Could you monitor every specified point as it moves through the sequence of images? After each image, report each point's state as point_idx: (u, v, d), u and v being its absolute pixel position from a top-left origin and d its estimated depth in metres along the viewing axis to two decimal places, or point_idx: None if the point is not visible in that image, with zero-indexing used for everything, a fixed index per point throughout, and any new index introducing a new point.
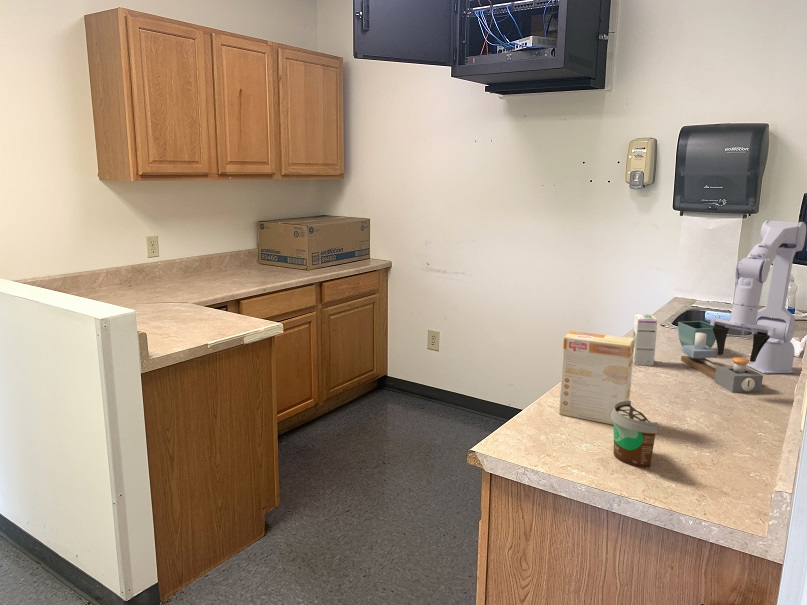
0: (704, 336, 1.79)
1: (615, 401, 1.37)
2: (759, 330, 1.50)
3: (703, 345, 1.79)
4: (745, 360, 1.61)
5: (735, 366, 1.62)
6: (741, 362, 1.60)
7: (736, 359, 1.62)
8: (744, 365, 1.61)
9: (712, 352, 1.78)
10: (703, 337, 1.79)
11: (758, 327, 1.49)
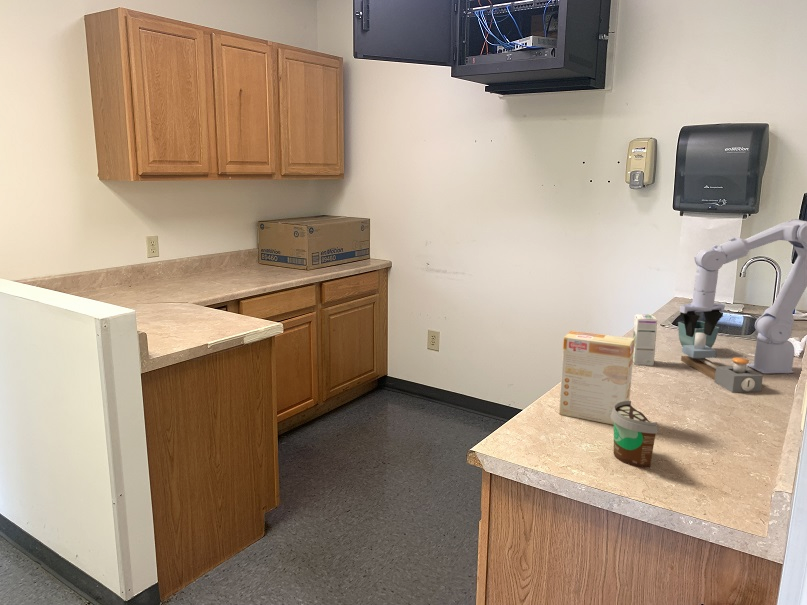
0: (704, 336, 1.79)
1: (615, 401, 1.37)
2: None
3: (703, 345, 1.79)
4: (745, 360, 1.61)
5: (735, 366, 1.62)
6: (741, 362, 1.60)
7: (736, 359, 1.62)
8: (744, 365, 1.61)
9: (712, 352, 1.78)
10: (703, 337, 1.79)
11: None
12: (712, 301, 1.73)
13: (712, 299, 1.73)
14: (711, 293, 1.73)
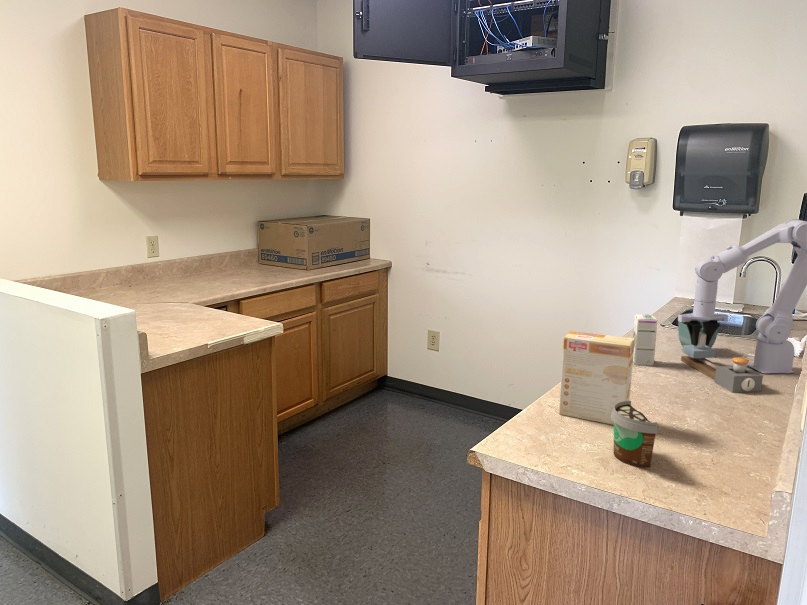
0: (704, 336, 1.79)
1: (615, 401, 1.37)
2: None
3: (703, 345, 1.79)
4: (745, 360, 1.61)
5: (735, 366, 1.62)
6: (741, 362, 1.60)
7: (736, 359, 1.62)
8: (744, 365, 1.61)
9: (712, 352, 1.78)
10: (703, 337, 1.79)
11: None
12: (711, 311, 1.76)
13: (711, 309, 1.76)
14: (709, 303, 1.75)
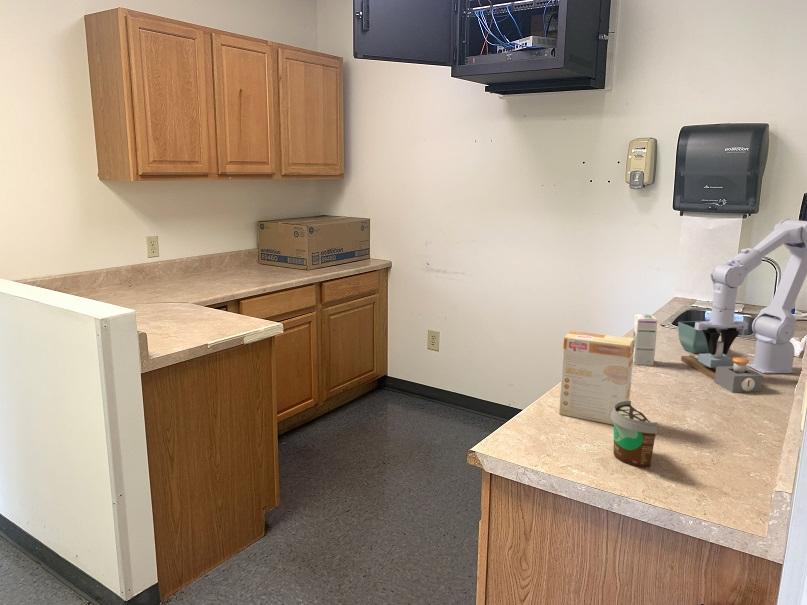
0: (721, 344, 1.70)
1: (615, 401, 1.37)
2: None
3: (720, 354, 1.71)
4: (745, 360, 1.61)
5: (735, 366, 1.62)
6: (741, 362, 1.60)
7: (736, 359, 1.62)
8: (744, 365, 1.61)
9: (730, 361, 1.70)
10: (720, 346, 1.70)
11: None
12: (730, 319, 1.67)
13: (730, 317, 1.67)
14: (728, 310, 1.66)
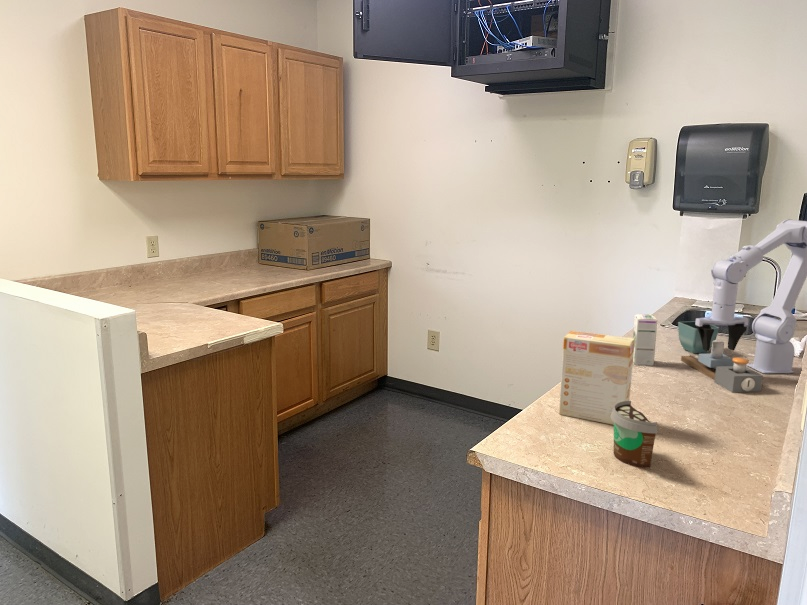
0: (722, 344, 1.70)
1: (615, 401, 1.37)
2: None
3: (720, 354, 1.71)
4: (745, 360, 1.61)
5: (735, 366, 1.62)
6: (741, 362, 1.60)
7: (736, 359, 1.62)
8: (744, 365, 1.61)
9: (730, 361, 1.70)
10: (721, 346, 1.70)
11: None
12: (731, 315, 1.67)
13: (730, 313, 1.67)
14: (729, 306, 1.66)
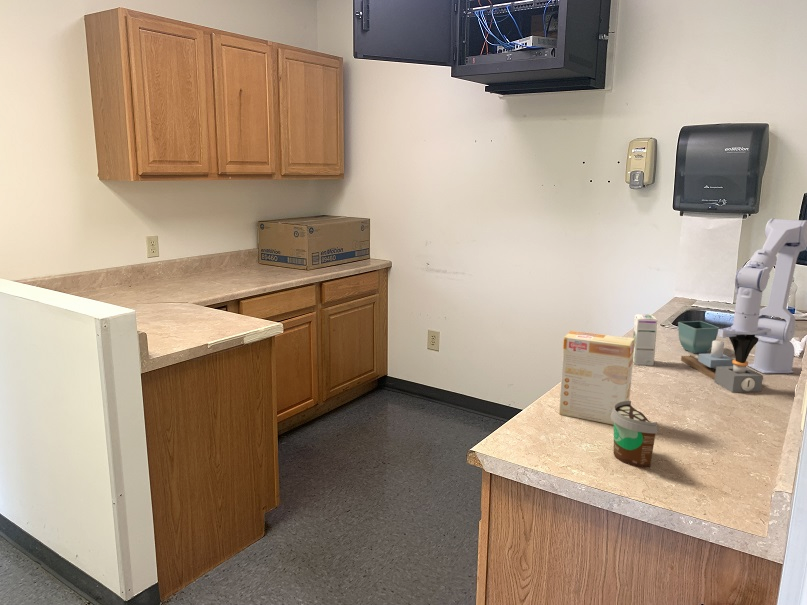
0: (722, 344, 1.70)
1: (615, 401, 1.37)
2: None
3: (720, 354, 1.71)
4: (745, 362, 1.61)
5: (735, 368, 1.62)
6: (741, 364, 1.60)
7: (736, 361, 1.62)
8: (744, 367, 1.61)
9: (730, 361, 1.70)
10: (721, 346, 1.70)
11: None
12: (755, 325, 1.57)
13: (755, 323, 1.57)
14: (754, 316, 1.56)
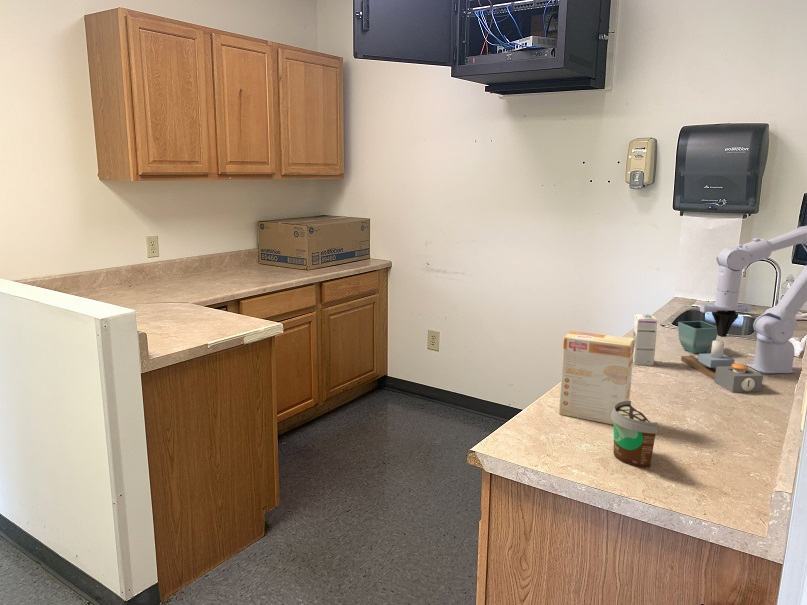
0: (722, 344, 1.70)
1: (615, 401, 1.37)
2: None
3: (720, 354, 1.71)
4: (744, 366, 1.62)
5: None
6: (740, 368, 1.61)
7: (735, 365, 1.62)
8: (743, 371, 1.61)
9: (730, 361, 1.70)
10: (721, 346, 1.70)
11: None
12: (734, 301, 1.70)
13: (734, 299, 1.70)
14: (733, 293, 1.70)
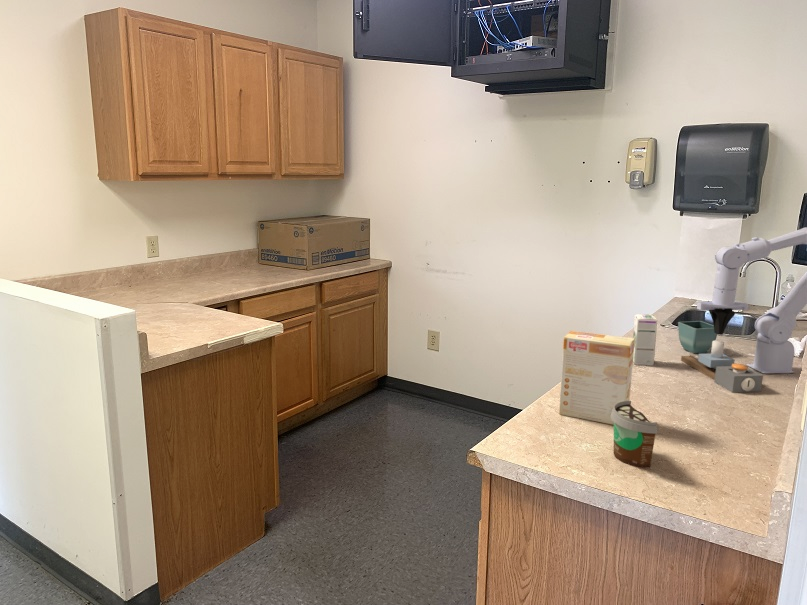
0: (722, 344, 1.70)
1: (615, 401, 1.37)
2: None
3: (720, 354, 1.71)
4: (744, 366, 1.62)
5: None
6: (740, 368, 1.61)
7: (735, 365, 1.62)
8: (743, 371, 1.61)
9: (730, 361, 1.70)
10: (721, 346, 1.70)
11: None
12: (731, 299, 1.72)
13: (731, 297, 1.72)
14: (730, 291, 1.72)
